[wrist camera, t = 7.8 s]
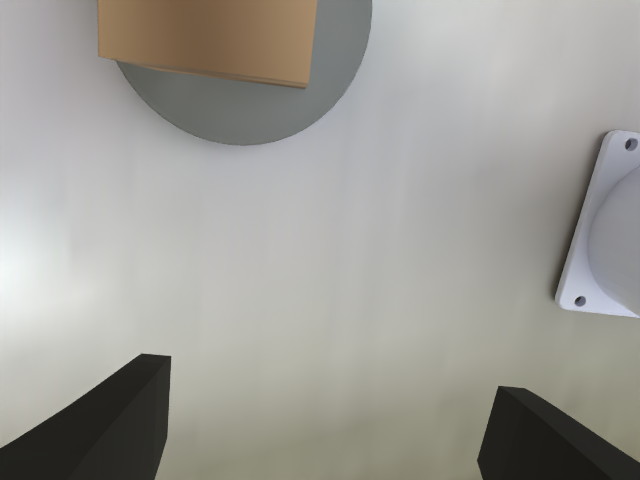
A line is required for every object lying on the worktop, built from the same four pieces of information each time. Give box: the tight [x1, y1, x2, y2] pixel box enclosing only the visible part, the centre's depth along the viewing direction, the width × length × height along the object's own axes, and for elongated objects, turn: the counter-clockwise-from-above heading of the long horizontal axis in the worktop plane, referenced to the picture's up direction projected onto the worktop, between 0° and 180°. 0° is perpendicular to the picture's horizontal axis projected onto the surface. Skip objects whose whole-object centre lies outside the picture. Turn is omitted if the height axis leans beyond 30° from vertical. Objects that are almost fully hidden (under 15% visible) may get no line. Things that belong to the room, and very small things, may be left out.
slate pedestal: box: [116, 0, 372, 145], centre depth 16 cm, size 9×9×2 cm
